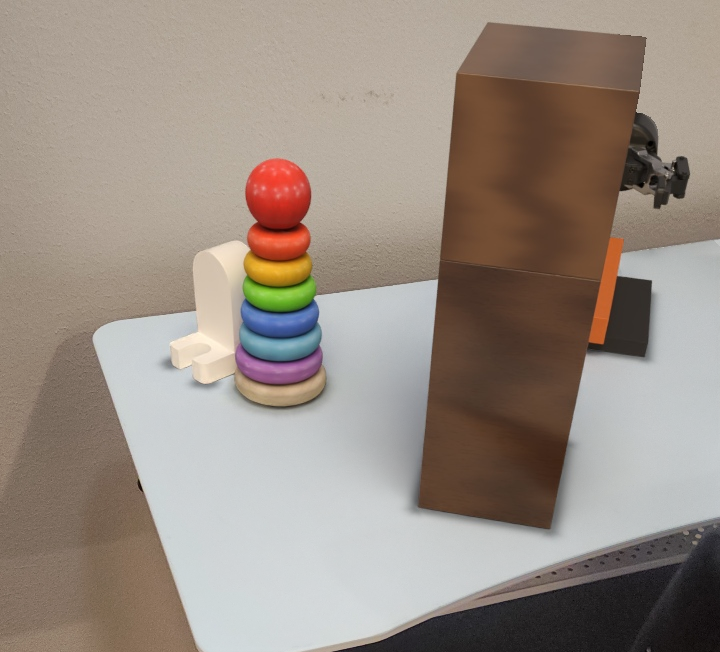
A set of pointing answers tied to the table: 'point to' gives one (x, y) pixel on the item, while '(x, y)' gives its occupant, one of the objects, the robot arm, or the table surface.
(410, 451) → the table surface
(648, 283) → the rubber mat
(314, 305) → the stacking toy
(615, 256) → the orange bar
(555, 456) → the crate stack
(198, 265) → the cable organizer
